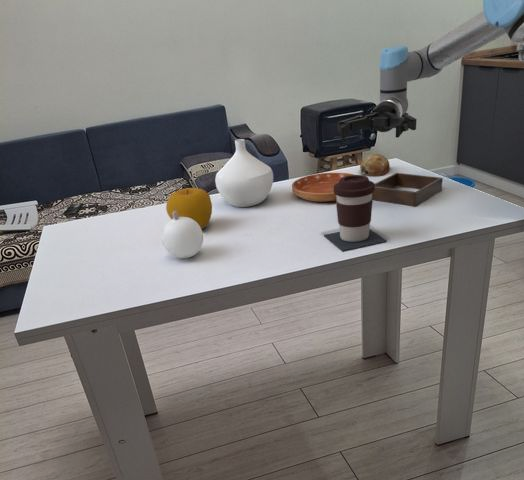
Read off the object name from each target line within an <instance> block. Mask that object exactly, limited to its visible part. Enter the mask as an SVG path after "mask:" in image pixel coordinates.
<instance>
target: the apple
mask: <svg viewBox="0 0 524 480" xmlns="http://www.w3.org/2000/svg"><path fill="white" fill-rule="evenodd" d="M165 210H166V213H167V215H168V217H169V219H170V220H172V219H173V211H177V214H178V217H188V218H191V219H193V220H194V221H196V222H197V223H198V225H199V226H200V228H201V230H202V229H204V228H206V227H207V226H208V225H209V223H210V221H211V217H212V213H213V203H212V199H211V196H210V194H209V193H208V192H207V191H206V190H204V189H203V188H198V187H187V188H182V189H178V190H176V191H174V192H172V193H171V194H170V195H169V196H168V199H167V202H166V205H165Z"/></svg>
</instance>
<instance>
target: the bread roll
mask: <svg viewBox="0 0 524 480" xmlns="http://www.w3.org/2000/svg"><path fill="white" fill-rule="evenodd" d="M390 168H391V165H390V161H389V159H388V158H387V157H386V156H384V155H382V154H380V153H372V154H368V155H367V156H365V157H364V158H363V159H362V160H361V162H360V165H359V169H360V173H361V175H363V176H367V177H371V176H372V177H380V176H385V175H387V174H388V173H389V171H390Z"/></svg>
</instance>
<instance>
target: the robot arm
mask: <svg viewBox="0 0 524 480" xmlns="http://www.w3.org/2000/svg"><path fill="white" fill-rule="evenodd" d="M506 34H507V36H508V38H509V40H510V41H511V43H512V44H519V45H522V46H524V0H482V11H481V12H479V13H477V14H476V15H474V16H472V17H471V18H469V19H468V20H466V21H464V22H463V23H462V24H460V25H458V26H456V27H455V28H453V29H452V30H449V32H447V33H445V34H443V35H442V36H440V37H439V38H437V39H436V40H434V41H432V42H431V43H429V44H428V45H425V46H424V47H423V48H421V49H418V50H417V49H416V50H412V51H409V49H408V46H405V45H399V46H390V47H385V48H383V49H382V50H381V52H380V58H379V59H380V60H379V103H377V104H376V105H375V106H374V107H373V109H372V110H371V112H370V113H369V114H365V115H364V116H363V115H362V114H358V115H356V116H352V117H350V118H347V119H343V120H340V121H337V132H338V133H340V138H341V140H345V139H346V138H347V137H348V136H349V135H350V134H351V133H352V132H355V131H359V130H364V129H365V130H372V129H374V130H375V131H376V132H379V133H387V132H389V131H392V130H393V129H395V138H400V136H401V135H402V134H403V133H404V132H407V131H409V130H411V131H416V130H417V121H418V119H417V118H415V117H413V116H411V115H409V113H408V112H407V111H408V109H409V100H408V97H407V96H408V95H407V93H408V82H414V81H416V80H417V81H418V80H421V79H425V78H426V79H427V78H431V77H433V76H436V75H438V74H440V73H441V72H442V70H443V69H444V68H445V67H448V66H449V65H451V64H453V63H455V62H457V61H459V60H461V59H462V58H464V57H466V56H468V55H470V54H472V53H473V52H475V51H477V50H479V49H480V48H482V47H484V46H486V45H488V44H489V43H492V42H494V41H495V40H497V39H498V38H500V37H502V36H504V35H506Z"/></svg>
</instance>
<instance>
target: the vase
mask: <svg viewBox="0 0 524 480" xmlns="http://www.w3.org/2000/svg"><path fill="white" fill-rule="evenodd" d="M234 144H235V152H234V154H233V156H232V157H231V158H230V159H229V160H228V161H227V162H226V163H225V164H224V165H223V166H222V167H221V168H220V169H219V170H218V171H217V172H216V174H215V179H214V182H215V188H216V190H217V191H218V193H219V195H220V196H221V197H222V199H224V201H226V202H227V203H228V204H230V205H231V206H233V207H237V208H247V207H249V208H250V207H253V206H257V205H259V204H261V203H263V202H264V200H265V199H266V198H267V197H268V195H269V194H270V192H271V190H272V187H273V184H274V171H273V170H272V168H271V166H269V165H268V164H266V163H264V162H263V161H261V160H259V159H258V158H257V157H255V156H253V154H251V153H249V152H248V150H247V147H246V141H245V139H244V138H238V139H235V140H234Z"/></svg>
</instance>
